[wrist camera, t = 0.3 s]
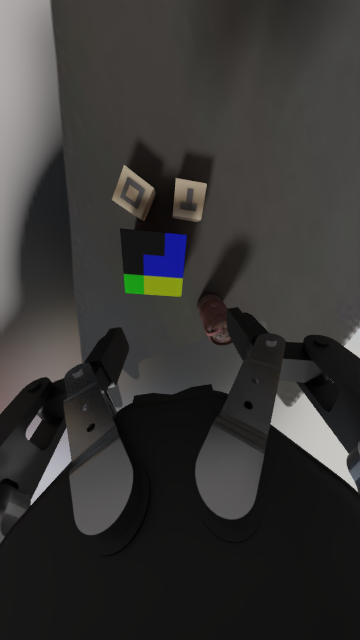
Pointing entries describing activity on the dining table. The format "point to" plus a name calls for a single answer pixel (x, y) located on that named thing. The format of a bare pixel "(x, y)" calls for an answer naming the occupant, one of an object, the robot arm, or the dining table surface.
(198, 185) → the marked block
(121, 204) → the marked block
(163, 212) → the dining table surface
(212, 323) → the can
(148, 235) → the puzzle toy
